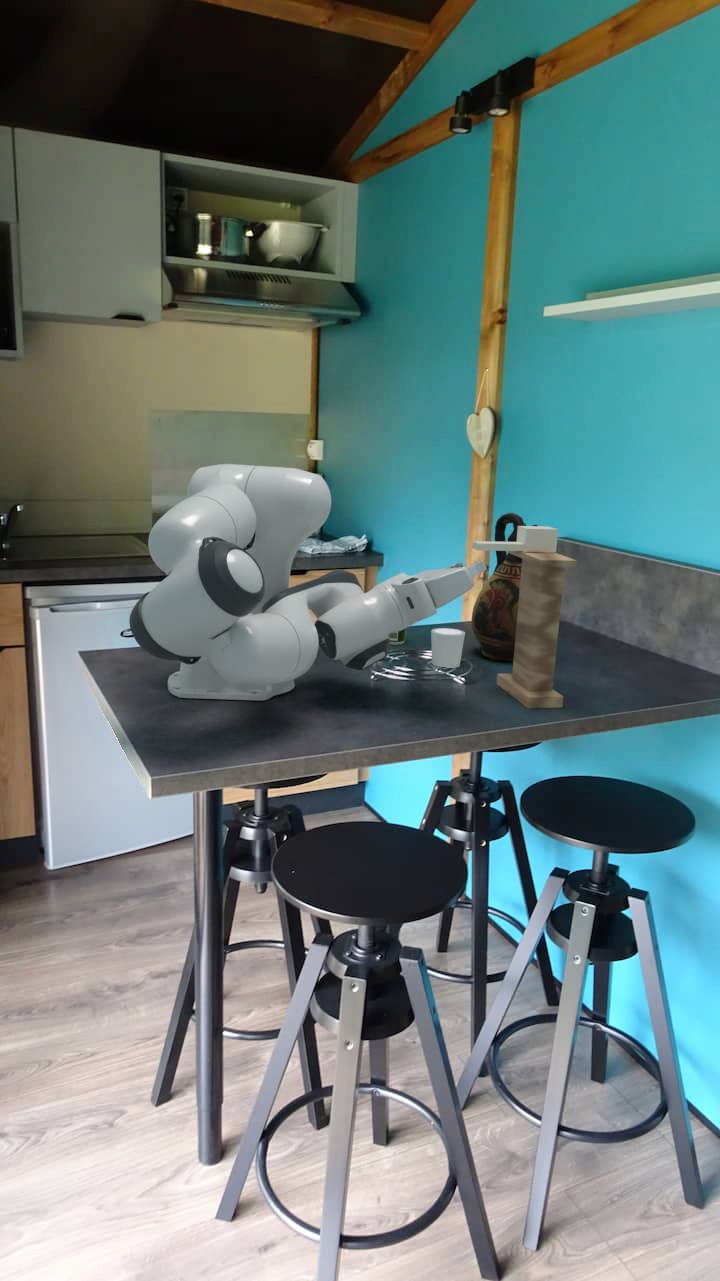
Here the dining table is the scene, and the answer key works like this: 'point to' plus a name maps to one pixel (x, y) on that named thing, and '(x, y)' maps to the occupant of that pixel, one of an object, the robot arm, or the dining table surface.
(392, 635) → the beer can
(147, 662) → the dining table surface
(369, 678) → the dining table surface
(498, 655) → the ceramic jug
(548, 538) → the white block with handle
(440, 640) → the white cylinder
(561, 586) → the wooden post with base
